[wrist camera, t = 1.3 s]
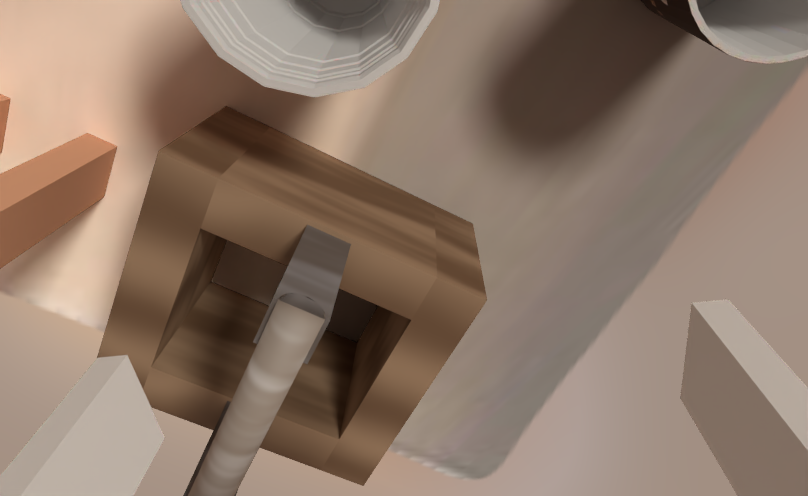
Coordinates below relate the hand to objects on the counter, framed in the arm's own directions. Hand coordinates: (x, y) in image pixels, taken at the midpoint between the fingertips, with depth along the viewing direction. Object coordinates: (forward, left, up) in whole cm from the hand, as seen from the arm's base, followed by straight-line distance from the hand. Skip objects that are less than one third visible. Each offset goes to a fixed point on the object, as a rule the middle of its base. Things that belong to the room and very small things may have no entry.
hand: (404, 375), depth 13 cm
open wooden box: (+3, -12, -25) cm, 28 cm away
